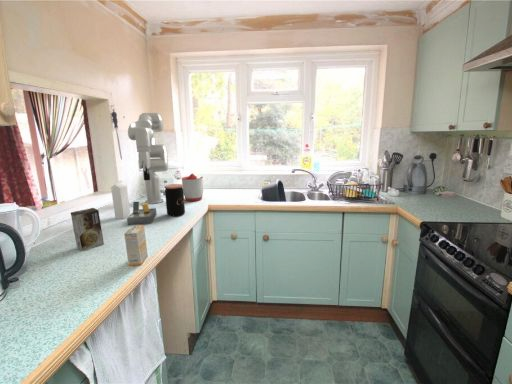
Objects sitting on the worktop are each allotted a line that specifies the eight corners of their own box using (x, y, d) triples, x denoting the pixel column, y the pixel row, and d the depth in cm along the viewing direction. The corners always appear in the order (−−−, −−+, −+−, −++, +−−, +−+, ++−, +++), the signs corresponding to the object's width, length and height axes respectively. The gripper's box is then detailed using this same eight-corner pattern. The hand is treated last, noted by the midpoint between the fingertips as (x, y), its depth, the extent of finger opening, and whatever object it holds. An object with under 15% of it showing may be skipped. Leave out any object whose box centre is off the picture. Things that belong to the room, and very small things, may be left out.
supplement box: (135, 256, 106) (131, 225, 104) (148, 256, 107) (144, 224, 104) (127, 266, 98) (123, 233, 95) (141, 265, 99) (137, 232, 96)
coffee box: (98, 241, 124) (93, 207, 120) (104, 244, 119) (99, 209, 116) (76, 247, 117) (70, 212, 113) (81, 251, 113) (75, 214, 109)
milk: (115, 218, 158) (109, 182, 153) (122, 215, 163) (117, 180, 159) (124, 219, 156) (118, 182, 152) (131, 216, 162) (126, 180, 157)
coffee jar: (180, 217, 157) (177, 187, 154) (163, 216, 159) (160, 187, 156) (188, 212, 168) (186, 184, 164) (172, 211, 170) (170, 183, 166)
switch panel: (135, 215, 162) (135, 209, 161) (156, 214, 164) (155, 207, 163) (127, 225, 145) (126, 217, 144) (151, 223, 147) (150, 216, 146)
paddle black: (133, 213, 154) (133, 202, 156) (139, 213, 154) (139, 202, 156) (132, 212, 152) (133, 201, 154) (138, 212, 153) (138, 201, 155)
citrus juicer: (210, 198, 205) (208, 172, 201) (193, 203, 191) (191, 175, 186) (195, 196, 213) (193, 171, 209) (178, 200, 199) (176, 174, 195)
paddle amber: (144, 211, 154) (142, 203, 150) (149, 211, 155) (147, 202, 151) (144, 213, 153) (141, 204, 149) (149, 213, 154) (147, 204, 150)
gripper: (139, 148, 163) (143, 178, 167) (133, 150, 148) (137, 182, 152) (152, 148, 164) (155, 177, 168) (148, 149, 150) (151, 182, 154)
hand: (147, 179), depth 160 cm, fingers closed
